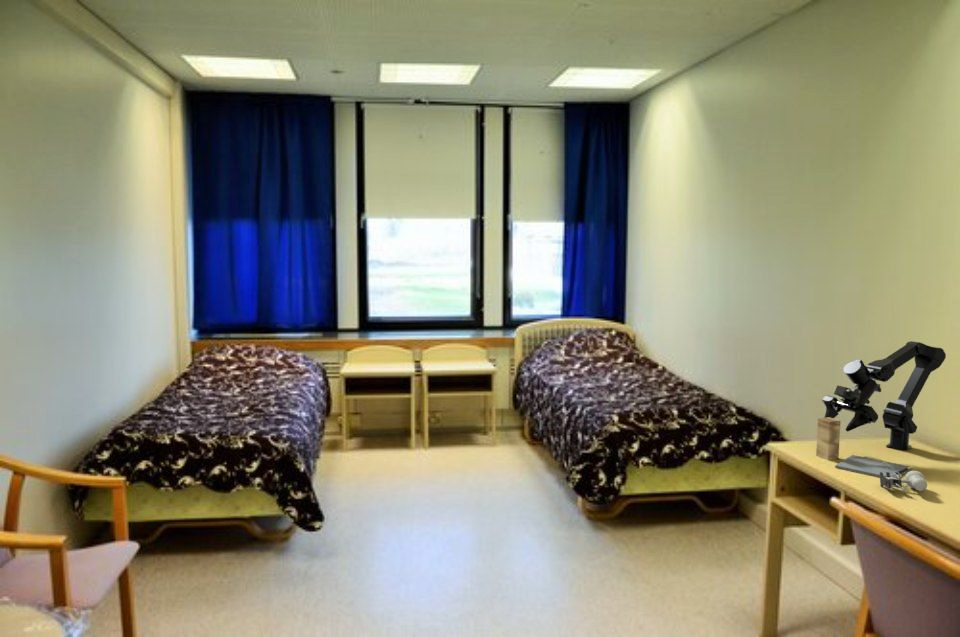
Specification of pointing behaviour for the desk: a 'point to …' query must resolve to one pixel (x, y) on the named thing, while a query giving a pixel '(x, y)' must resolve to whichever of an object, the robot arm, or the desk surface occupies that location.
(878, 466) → the slate mat
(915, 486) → the clip-on lamp
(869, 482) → the desk surface
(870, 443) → the desk surface
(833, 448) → the upright wooden block
